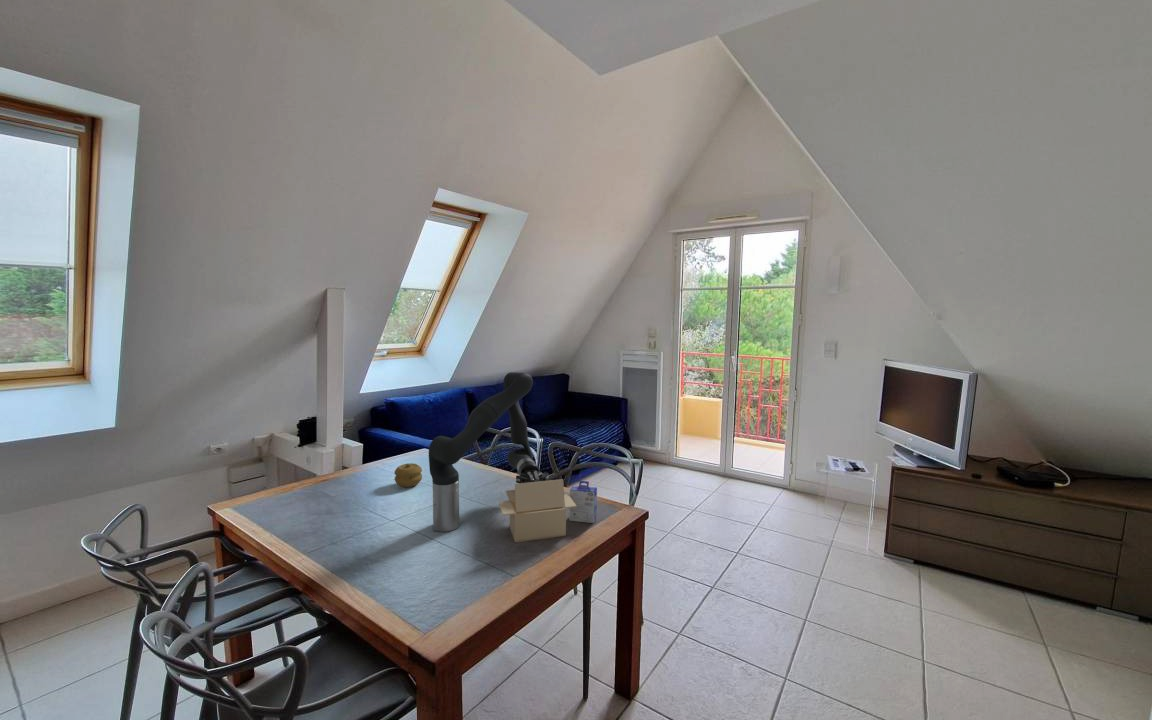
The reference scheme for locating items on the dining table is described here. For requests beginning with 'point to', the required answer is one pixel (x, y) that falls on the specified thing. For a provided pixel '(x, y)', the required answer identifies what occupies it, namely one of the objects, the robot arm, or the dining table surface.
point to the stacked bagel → (408, 475)
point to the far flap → (539, 495)
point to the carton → (535, 520)
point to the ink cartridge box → (583, 503)
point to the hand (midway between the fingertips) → (537, 486)
